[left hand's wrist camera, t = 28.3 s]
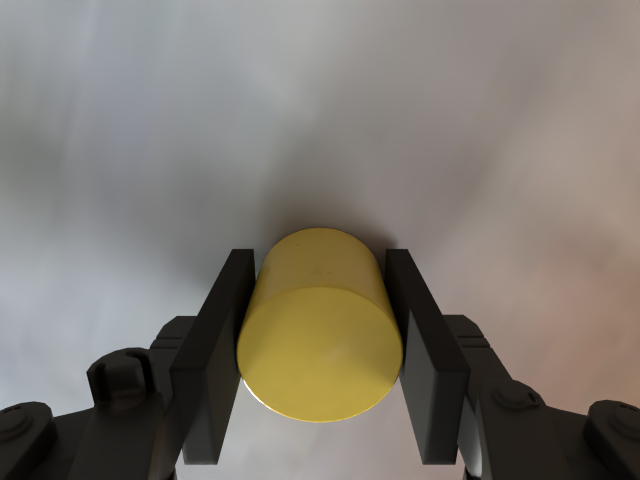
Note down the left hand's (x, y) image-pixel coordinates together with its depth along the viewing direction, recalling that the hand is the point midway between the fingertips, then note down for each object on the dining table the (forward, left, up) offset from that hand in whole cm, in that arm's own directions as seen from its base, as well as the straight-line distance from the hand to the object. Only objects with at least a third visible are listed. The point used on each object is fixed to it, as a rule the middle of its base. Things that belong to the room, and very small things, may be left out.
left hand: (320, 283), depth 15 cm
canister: (0, 0, 0) cm, 0 cm away
